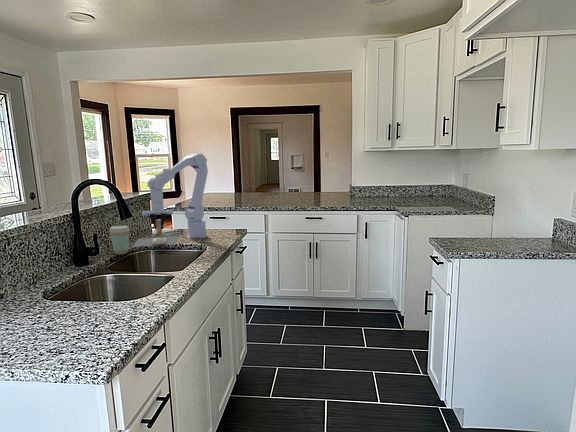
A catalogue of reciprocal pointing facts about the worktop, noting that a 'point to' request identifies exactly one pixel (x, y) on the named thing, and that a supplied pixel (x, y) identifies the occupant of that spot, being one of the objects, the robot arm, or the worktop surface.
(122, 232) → the coffee cup
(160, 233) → the stepped wooden block
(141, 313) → the worktop surface
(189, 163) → the robot arm
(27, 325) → the worktop surface
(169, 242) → the mat
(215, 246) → the worktop surface
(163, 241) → the tile
